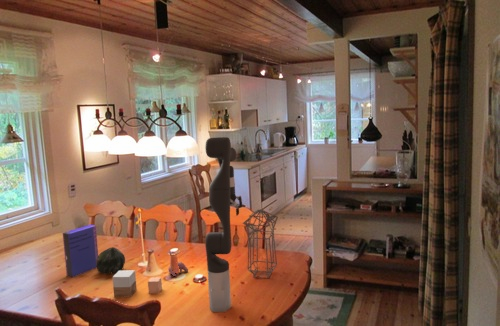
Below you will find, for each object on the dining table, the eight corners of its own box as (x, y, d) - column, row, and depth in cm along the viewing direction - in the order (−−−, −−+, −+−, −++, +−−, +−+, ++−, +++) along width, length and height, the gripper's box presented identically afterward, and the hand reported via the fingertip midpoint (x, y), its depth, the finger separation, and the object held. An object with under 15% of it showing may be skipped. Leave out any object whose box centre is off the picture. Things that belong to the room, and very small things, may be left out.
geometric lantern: (280, 270, 217) (278, 206, 211) (273, 283, 202) (271, 214, 196) (251, 268, 221) (249, 205, 216) (243, 280, 206) (240, 213, 201)
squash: (96, 258, 230) (95, 244, 220) (124, 255, 236) (124, 241, 225) (97, 282, 222) (96, 268, 211) (125, 278, 227) (126, 264, 216)
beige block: (159, 293, 195) (158, 281, 194) (148, 293, 195) (147, 281, 194) (162, 289, 200) (161, 277, 199) (151, 289, 200) (151, 277, 199)
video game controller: (184, 273, 222) (180, 261, 223) (189, 271, 219) (184, 259, 221) (170, 279, 215) (165, 266, 216) (175, 277, 212) (170, 264, 213)
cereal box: (93, 265, 236) (90, 224, 233) (99, 266, 234) (95, 225, 231) (66, 275, 222) (62, 232, 219) (72, 277, 219) (68, 233, 216)
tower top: (129, 287, 192) (129, 276, 191) (113, 287, 192) (112, 277, 192) (135, 280, 200) (135, 270, 199) (119, 280, 200) (119, 270, 200)
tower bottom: (130, 297, 192) (129, 287, 192) (114, 297, 193) (113, 287, 192) (136, 289, 200) (135, 280, 199) (120, 290, 201) (119, 280, 200)
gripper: (213, 187, 214) (215, 217, 216) (240, 186, 213) (241, 216, 215) (215, 184, 221) (217, 214, 223) (241, 183, 220) (243, 213, 222)
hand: (229, 215), depth 219 cm, fingers open, 8 cm apart
